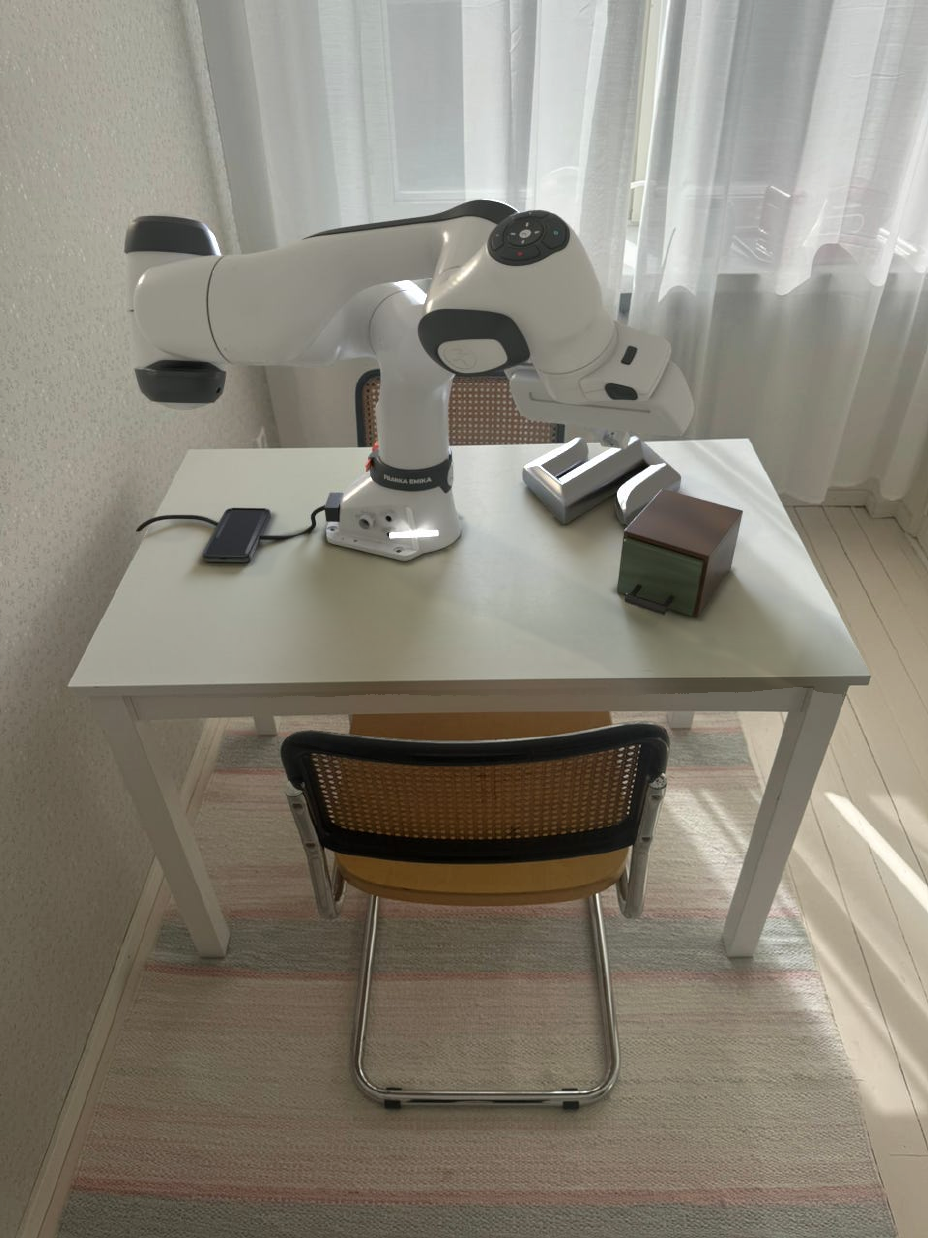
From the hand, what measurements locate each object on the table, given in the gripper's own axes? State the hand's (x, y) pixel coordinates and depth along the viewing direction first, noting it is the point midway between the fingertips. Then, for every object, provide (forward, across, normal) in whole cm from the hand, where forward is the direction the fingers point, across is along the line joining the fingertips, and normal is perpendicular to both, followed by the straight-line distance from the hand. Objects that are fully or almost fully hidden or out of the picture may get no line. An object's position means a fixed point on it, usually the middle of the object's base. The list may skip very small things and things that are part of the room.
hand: (616, 443), depth 96 cm
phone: (+14, -66, -18) cm, 70 cm away
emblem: (+44, -25, +20) cm, 54 cm away
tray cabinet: (+37, -2, +2) cm, 37 cm away
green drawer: (+34, -2, -1) cm, 34 cm away
